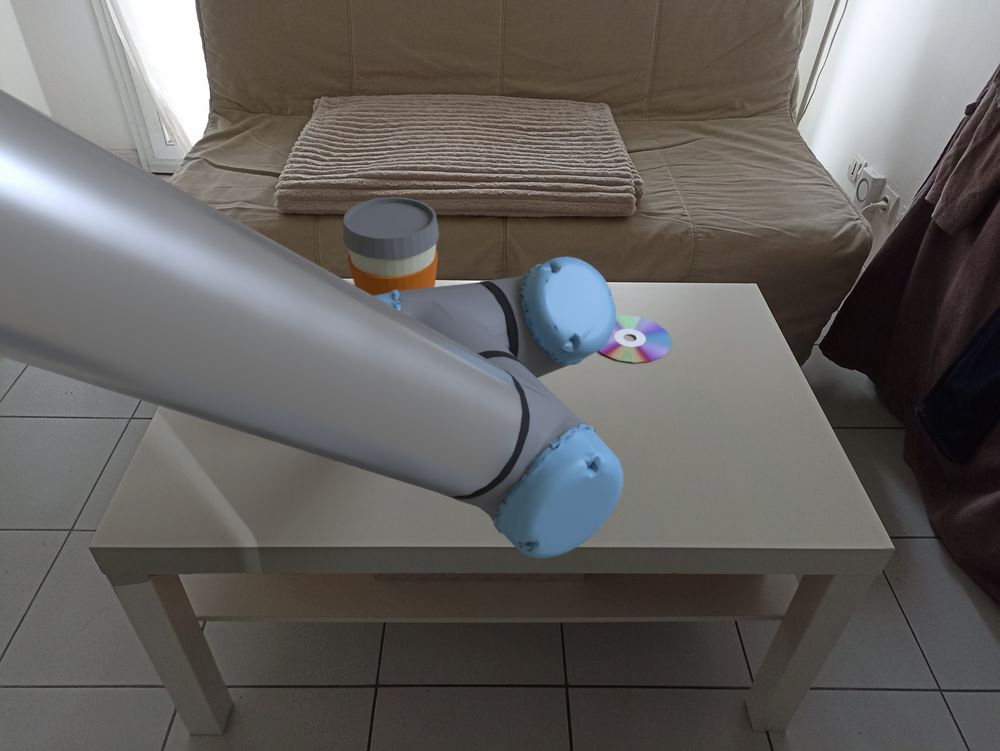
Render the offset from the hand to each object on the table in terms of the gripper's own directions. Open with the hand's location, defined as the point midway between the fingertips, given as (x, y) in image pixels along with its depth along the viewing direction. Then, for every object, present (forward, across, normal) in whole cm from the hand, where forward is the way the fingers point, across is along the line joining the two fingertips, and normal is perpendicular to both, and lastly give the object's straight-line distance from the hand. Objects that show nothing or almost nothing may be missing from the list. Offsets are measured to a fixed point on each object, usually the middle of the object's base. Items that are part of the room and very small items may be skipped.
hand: (386, 407), depth 86 cm
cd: (-2, +36, -7) cm, 36 cm away
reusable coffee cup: (+16, +15, +11) cm, 25 cm away
